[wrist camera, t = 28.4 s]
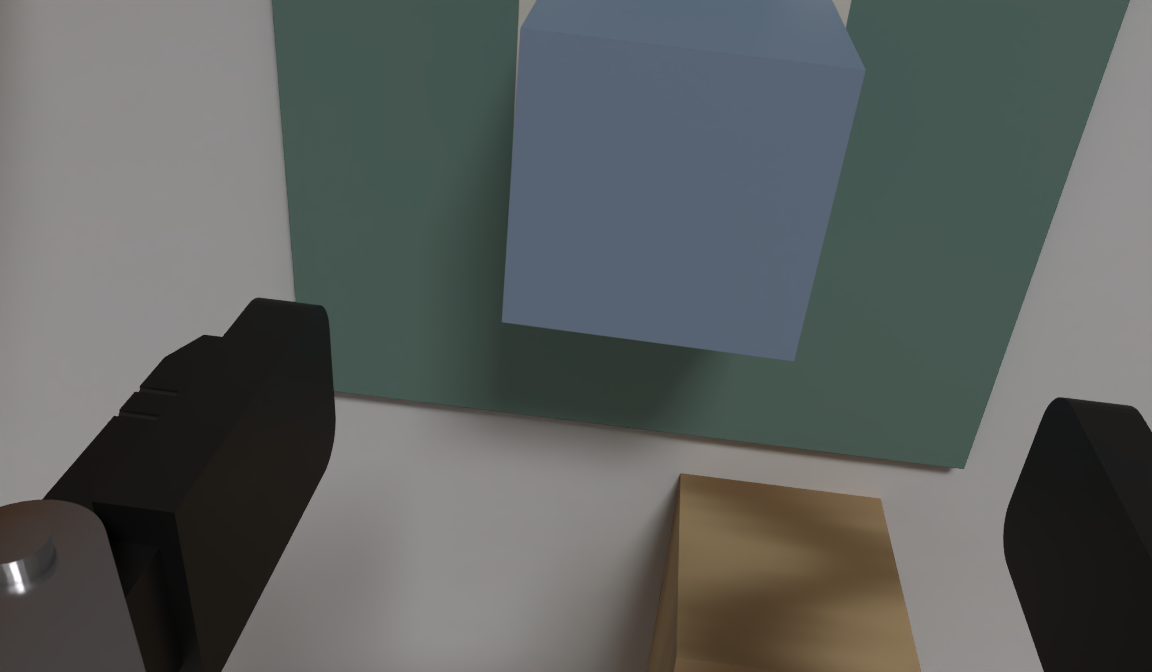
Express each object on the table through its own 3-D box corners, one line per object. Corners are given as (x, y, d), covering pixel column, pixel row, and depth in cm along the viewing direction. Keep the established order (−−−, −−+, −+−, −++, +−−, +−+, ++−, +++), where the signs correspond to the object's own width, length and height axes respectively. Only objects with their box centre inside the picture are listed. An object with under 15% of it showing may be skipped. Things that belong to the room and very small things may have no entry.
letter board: (1238, -339, 16) (1251, -341, 16) (959, 458, 24) (964, 469, 24) (247, -424, 17) (237, -426, 16) (307, 378, 25) (302, 387, 25)
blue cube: (828, -9, 19) (865, 69, 14) (775, 234, 21) (794, 360, 17) (560, -41, 19) (520, 27, 15) (540, 203, 22) (501, 321, 17)
